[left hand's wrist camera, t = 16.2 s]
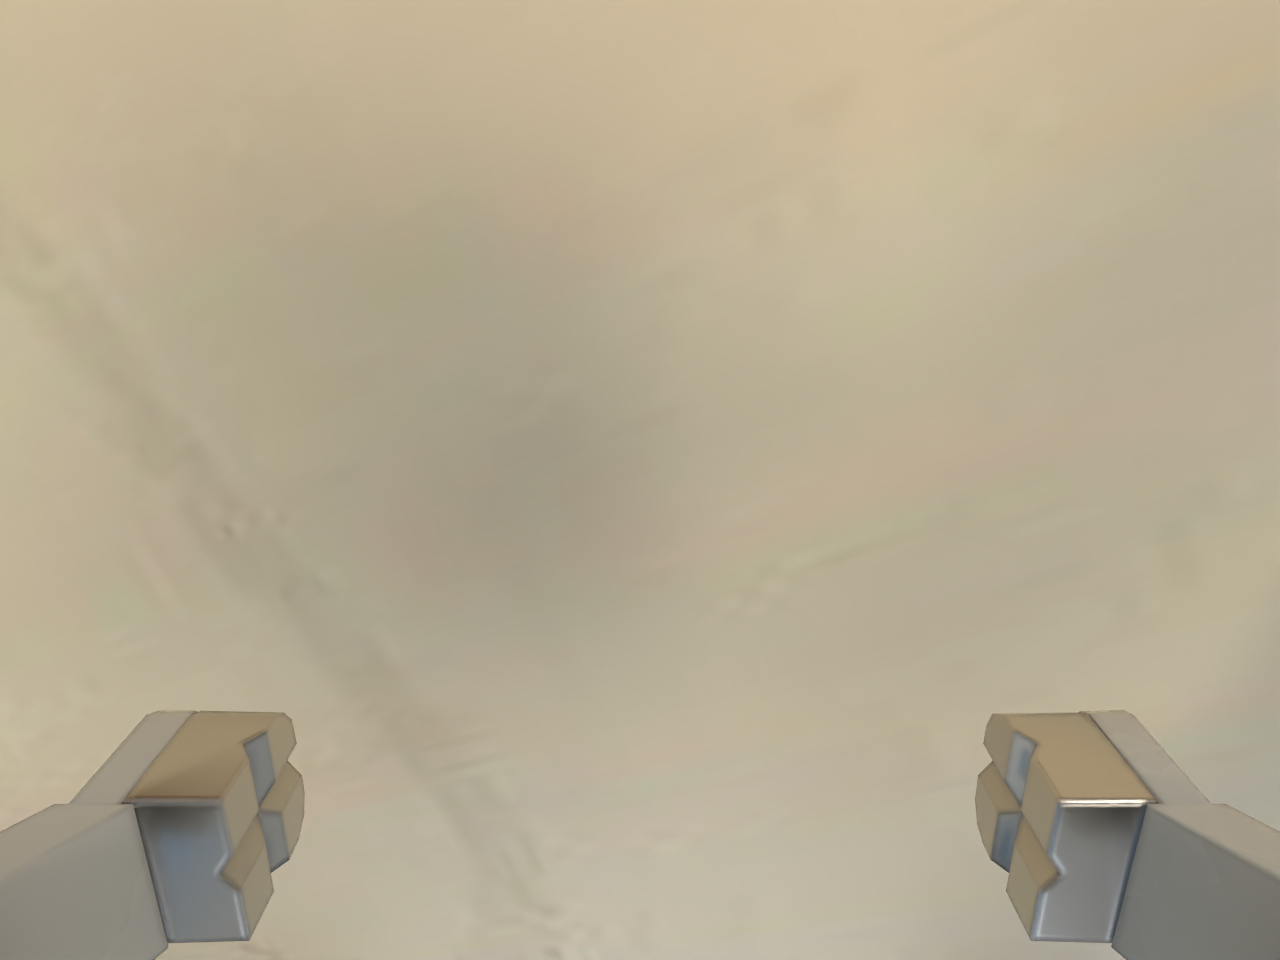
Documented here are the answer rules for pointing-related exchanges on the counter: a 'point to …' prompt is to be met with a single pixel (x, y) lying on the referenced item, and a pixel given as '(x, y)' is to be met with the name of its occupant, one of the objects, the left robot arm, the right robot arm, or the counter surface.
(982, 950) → the counter surface
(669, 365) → the counter surface
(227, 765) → the left robot arm
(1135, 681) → the counter surface
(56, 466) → the counter surface
